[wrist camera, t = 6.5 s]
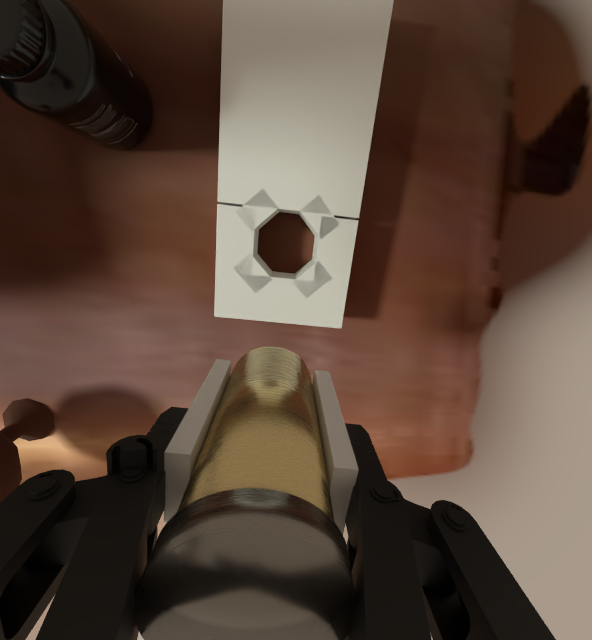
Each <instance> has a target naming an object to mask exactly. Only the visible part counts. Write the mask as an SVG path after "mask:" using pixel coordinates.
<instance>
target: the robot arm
mask: <svg viewBox="0 0 592 640" xmlns="http://www.w3.org/2000/svg"><path fill="white" fill-rule="evenodd" d="M230 371H231V361H230V360H221V359H216V361H215V362H214V364H213V366H212V368H211V370H210V371H209V373H208V375H207V377H206V379H205V380H204V382H203V384H202V386H201V388H200V389H199V391H198V393H197V395H196V397H195V398H194V400H193V402H192V404H191V406H190V407H189V409H188V408H178V407H171V408H169V409H168V410H166V411H165V412H163V413H162V414H161V415H160V416H159V418H158V419H157V421H156V422H155V424H154V425H153V427H152V428H151V429H150V432H148V434H147V435H146V436H145V435H135V436H129V437H126V438H124V439H121V440H119V441H117V442H116V443H114V444H113V445H112V446H111V447H110V448H109V449H108V451H107V452H106V455H107V472H108V475H106V476H103V477H99V478H94V479H88V480H82V481H76V482H75V477H74V475H73V474H72V473H71V472H69V471H66V470H50V471H47V472H43V473H40V474H38V475H36V476H34V477H31V478H29V479H28V480H26V481H25V482H24V483H22V484H21V485H19V486H18V487H17V488H16V489H15V490H14V491H13V492H12V493H11V494H9V495H8V496H7V497H6V498H5V499H4V500H3V501H2V502H1V503H0V640H25V639H26V638H27V636H28V635H29V633H30V632H31V630H32V629H33V627H34V626H35V624H36V623H37V621H38V620H39V618H40V616H41V615H42V613H43V612H44V610H45V609H46V607H47V606H48V604H49V603H50V601H51V600H52V598H53V597H54V595H55V597H54V599H53V601H52V603H51V606H50V608H49V610H48V612H47V615H46V617H45V619H44V622H43V624H42V626H41V628H40V631H39V633H38V635H37V638H36V640H137V637H138V632H139V630H138V628H137V626H136V617H135V591H136V588H137V586H138V583H139V581H140V578H141V576H142V574H143V571H144V569H145V567H146V564H147V562H148V560H149V557H150V555H151V552H152V550H153V548H154V545H155V543H156V540H157V524H158V522H159V520H160V518H161V515H162V513H163V511H164V522H168V521H169V520H170V519H171V518H172V517H173V516H174V515H175V514H176V513H177V511H178V508H179V506H180V503H181V500H182V498H183V495H184V493H185V490H186V488H187V485H188V483H189V480H190V478H191V475H192V473H193V470H194V467H195V465H196V462H197V460H198V457H199V455H200V452H201V450H202V447H203V445H204V442H205V439H206V437H207V434H208V432H209V429H210V427H211V424H212V422H213V419H214V417H215V414H216V412H217V409H218V406H219V404H220V401H221V399H222V396H223V394H224V391H225V389H226V386H227V384H228V381H229V379H230ZM312 388H313V394H314V400H315V406H316V412H317V418H318V424H319V430H320V436H321V443H322V449H323V455H324V461H325V467H326V473H327V479H328V485H329V491H330V497H331V503H332V509H333V515H334V521H335V524H336V525H337V526H338V528H339V529H340V531H341V533H342V534H343V531H344V527H345V523H346V527H347V532H348V541H347V545H346V546H347V551H348V556H349V562H350V567H351V572H352V577H353V583H354V588H355V593H356V598H357V607H356V610H355V614H354V617H353V621H352V624H351V628H350V631H349V634H348V636H347V638H346V639H345V640H431V636H432V638H433V640H556V639H555V638H554V636H553V635H552V633H551V632H550V630H549V629H548V627H547V626H546V625H545V623H544V621H543V620H542V619H541V617H540V616H539V614H538V613H537V611H536V610H535V608H534V607H533V605H532V604H531V602H530V601H529V599H528V598H527V597H526V595H525V593H524V592H523V590H522V589H521V587H520V586H519V584H518V583H517V581H516V580H515V578H514V577H513V575H512V574H511V573H510V571H509V569H508V568H507V567H506V565H505V564H504V562H503V561H502V559H501V558H500V556H499V555H498V553H497V552H496V550H495V549H494V547H493V546H492V544H491V543H490V541H489V540H488V539H487V537H486V535H485V534H484V532H483V531H482V530H481V528H480V527H479V525H478V523H477V522H476V521H475V520H474V518H473V517H472V516H471V515H470V514H469V513H468V512H467V511H466V510H464V509H463V508H462V507H460V506H458V505H456V504H454V503H452V502H449V501H445V500H440V501H436V502H435V503H434V504H432V506H431V509H428V508H425V507H423V506H420V505H417V504H414V503H412V502H410V501H407V500H405V499H404V498H403V496H402V494H401V492H400V491H399V490H398V489H397V487H396V486H395V485H393V484H392V483H391V482H389V481H388V480H387V478H386V476H385V474H384V471H383V469H382V466H381V464H380V461H379V459H378V456H377V454H376V452H375V449H374V446H373V444H372V441H371V439H370V436H369V434H368V433H367V431H366V430H365V429H364V428H363V427H362V426H361V425H356V424H346V423H344V419H343V416H342V413H341V409H340V406H339V403H338V399H337V396H336V393H335V389H334V386H333V383H332V380H331V376H330V373H329V372H328V371H320V370H315V372H314V378H313V384H312ZM430 633H431V635H430Z"/></svg>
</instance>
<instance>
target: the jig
mask: <svg viewBox="0 0 592 640" xmlns="http://www.w3.org/2000/svg"><path fill="white" fill-rule="evenodd" d="M393 2H394V0H223V21H222V57H221V93H220V129H219V165H218V201H217V202H219V203H222V204H224V205H220V204H217V237H216V273H215V310H214V316H215V317H226V318H236V319H247V320H257V321H268V322H279V323H289V324H300V325H311V326H321V327H332V328H341V327H342V321H343V314H344V308H345V302H346V296H347V289H348V283H349V277H350V271H351V264H352V258H353V252H354V246H355V239H356V233H357V227H358V220H352V219H357V218H359V214H360V208H361V202H362V196H363V189H364V183H365V177H366V171H367V164H368V158H369V152H370V145H371V139H372V133H373V127H374V120H375V114H376V108H377V102H378V95H379V89H380V83H381V77H382V70H383V64H384V58H385V52H386V45H387V39H388V33H389V27H390V20H391V14H392V8H393ZM279 212H284V213H292V214H299V215H300V217H301V218H302V219H303V221H304V222H305V223H306V225H307V226H308V227H309V228H310V230H311V231H312V232H313V234H314V235H315V240H314V248H313V256H312V260H311V261H309V262H308V263H307V264H306V265H304V266H303V267H302V268H301V269H300V270H298V271H297V272H296V273H295V274H294V273H284V272H274V271H272V270H271V269H270V268H269V267H268V266H267V264H266V263H265V262H264V261H263V260H262V258H261V257H260V256H259V255H258V254H257V251H258V237H259V229H260V228H261V227H262V226H264V225H265V224H266V223H267V222H268V221H269V220H271V219H272V218H273V217H274V216H275V215H276V214H277V213H279Z"/></svg>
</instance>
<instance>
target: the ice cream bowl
mask: <svg viewBox="0 0 592 640" xmlns="http://www.w3.org/2000/svg"><path fill="white" fill-rule="evenodd" d="M3 420H4V425H5V428H4V429H2V430H1V431H0V503H1V502H2V501H3V500H4V499H5V498H6V497H7V496H8V495H9V494H11V493H12V492H13V491H14V490H15V489H16V488H17V487H18V486H19V484H20V482H21V480H22V476H21V465H20V459H19V454H18V448H17V446H16V445H15V444H14V443H13V441H15V440H16V439H18V438H22V439H25V440H28V441H32V440H37V439H43V438H45V437H47V436H48V435H49V434H50V432H51V431H52V430H53V429H54V428H55V426H54V419H53V415H52V413H51V412H50V411H49V410H48V409H47V408H46V407H45V406H44V405H43V404H41V403H38V402H35V401H33V400H30V399H22V400H17V401H13V402H12V403H11V404H10V405H9V406H8V408H7V409H6V410H5V412H4V413H3Z"/></svg>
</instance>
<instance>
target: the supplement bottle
mask: <svg viewBox="0 0 592 640" xmlns="http://www.w3.org/2000/svg"><path fill="white" fill-rule="evenodd" d="M0 90H1V91H2V92H3V93H4V94H5V95H7V96H8V97H9V98H10V99H11V100H13V101H14V102H15V103H17V104H18V105H20V106H21V107H23V108H25V109H27V110H29V111H30V112H32V113H35V114H37V115H39V116H41V117H43V118H45V119H47V120H49V121H51V122H53V123H55V124H58V125H60V126H62V127H64V128H66V129H68V130H70V131H72V132H74V133H76V134H79V135H81V136H83V137H85V138H87V139H89V140H91V141H93V142H95V143H98V144H100V145H102V146H104V147H108V148H111V149H117V150H122V149H129V148H132V147H134V146H136V145H137V144H139V143H140V142H141V141H142V140H143V139H144V138H145V137H146V135H147V134H148V132H149V129H150V127H151V123H152V117H153V109H152V102H151V98H150V95H149V92H148V90H147V88H146V86H145V84H144V82H143V81H142V79H141V78H140V77H139V75H138V74H137V73H136V72H135V71H134V70H133V68H132V67H131V66H130V65H129V64H128V63H127V62H126V61H125V60H124V59H123V58H122V57H121V56H120V55H119V54H118V53H117V51H116V50H115V49H114V48H113V47H112V46H111V45H110V44H109V43H108V42H107V41H106V40H105V39H104V38H103V37H102V36H101V35H100V34H99V33H98V31H97V30H96V29H95V28H94V27H93V26H92V25H91V24H90V23H89V22H88V21H87V20H86V19H85V18H84V17H83V16H82V15H81V14H80V13H79V11H78V10H77V9H76V8H75V7H74V6H73V5H72V4H71V3H70V2H69V1H68V0H0Z"/></svg>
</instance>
